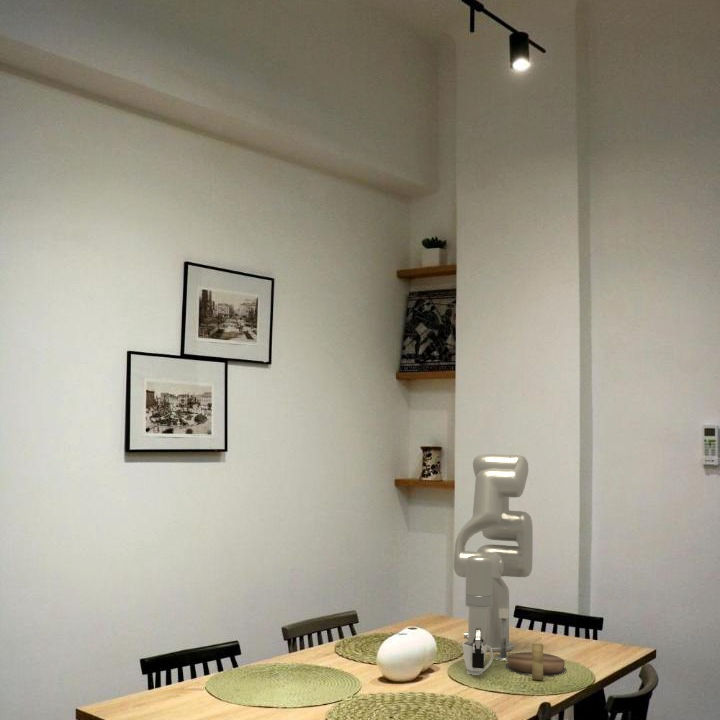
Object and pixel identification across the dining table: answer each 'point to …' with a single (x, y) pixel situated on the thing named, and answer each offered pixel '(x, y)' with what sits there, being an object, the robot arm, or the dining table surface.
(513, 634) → the dining table surface
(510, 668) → the turntable base
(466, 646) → the cup
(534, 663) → the turntable
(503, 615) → the gauge post
